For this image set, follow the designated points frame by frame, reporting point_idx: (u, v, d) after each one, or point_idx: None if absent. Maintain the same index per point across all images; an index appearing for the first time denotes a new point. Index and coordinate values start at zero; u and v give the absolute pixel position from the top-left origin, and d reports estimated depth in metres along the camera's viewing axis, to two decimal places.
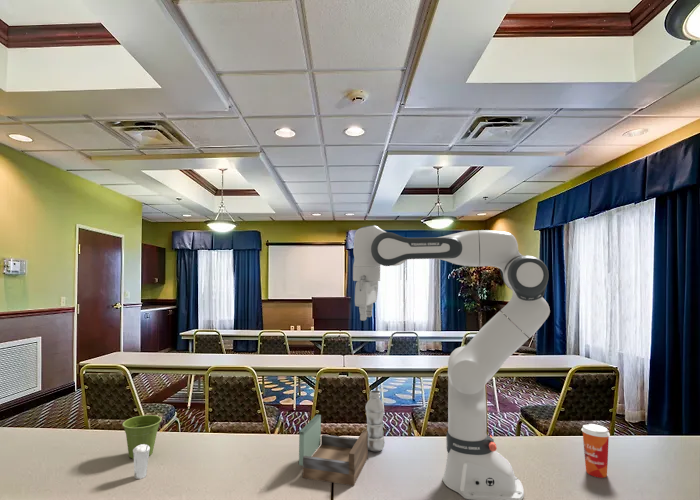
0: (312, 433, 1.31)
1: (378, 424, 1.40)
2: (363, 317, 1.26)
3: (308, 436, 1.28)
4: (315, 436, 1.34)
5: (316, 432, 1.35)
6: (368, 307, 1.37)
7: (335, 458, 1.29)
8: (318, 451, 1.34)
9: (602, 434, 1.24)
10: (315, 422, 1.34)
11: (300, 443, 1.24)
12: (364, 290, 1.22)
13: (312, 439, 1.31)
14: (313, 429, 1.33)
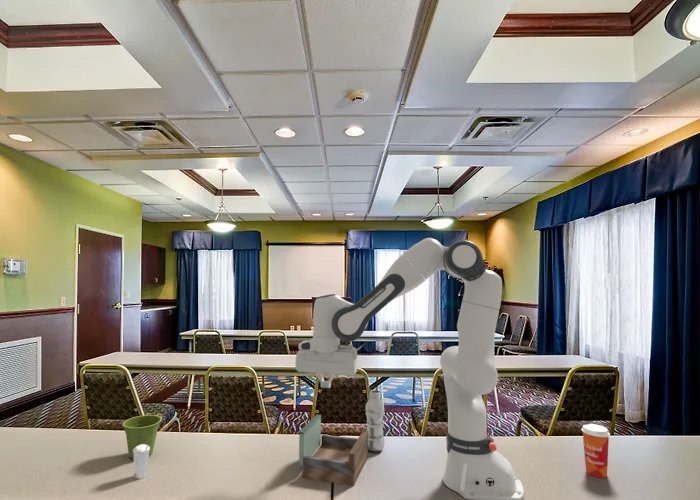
0: (312, 433, 1.31)
1: (378, 424, 1.40)
2: (330, 384, 1.31)
3: (308, 436, 1.28)
4: (315, 436, 1.34)
5: (316, 432, 1.35)
6: (321, 377, 1.32)
7: (335, 458, 1.29)
8: (318, 451, 1.34)
9: (603, 434, 1.24)
10: (315, 422, 1.34)
11: (300, 443, 1.24)
12: None
13: (312, 439, 1.31)
14: (313, 429, 1.33)
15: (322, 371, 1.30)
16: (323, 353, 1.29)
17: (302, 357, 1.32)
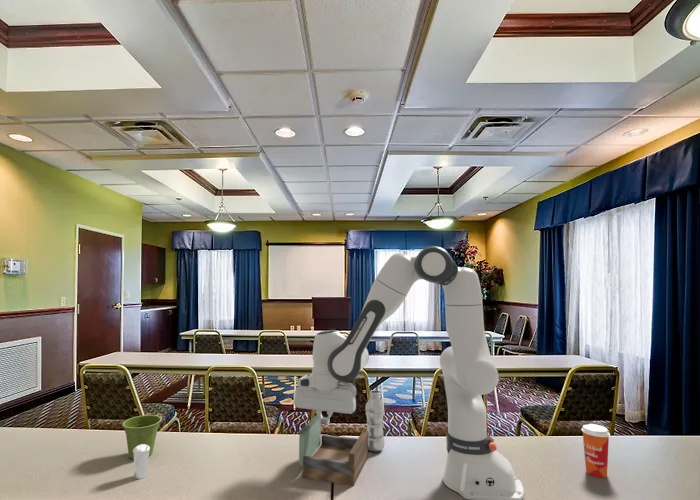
0: (312, 433, 1.31)
1: (378, 424, 1.40)
2: (328, 421, 1.31)
3: (308, 436, 1.28)
4: (315, 436, 1.34)
5: (316, 432, 1.35)
6: (319, 414, 1.31)
7: (335, 458, 1.29)
8: (318, 451, 1.34)
9: (603, 434, 1.24)
10: (315, 422, 1.34)
11: (300, 443, 1.24)
12: (354, 396, 1.30)
13: (312, 439, 1.31)
14: (313, 429, 1.33)
15: (321, 408, 1.29)
16: (322, 390, 1.28)
17: (301, 393, 1.31)
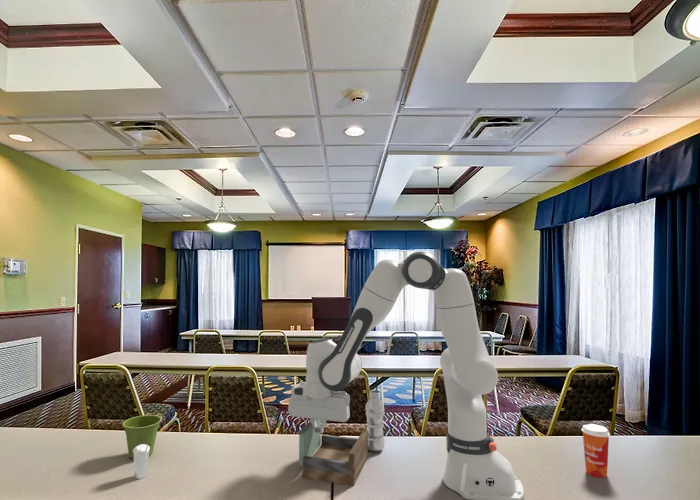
0: (312, 433, 1.31)
1: (378, 424, 1.40)
2: (322, 429, 1.31)
3: (308, 436, 1.28)
4: (315, 436, 1.34)
5: None
6: (314, 422, 1.31)
7: (335, 458, 1.29)
8: (318, 451, 1.34)
9: (603, 434, 1.24)
10: None
11: (300, 443, 1.24)
12: (348, 404, 1.30)
13: (312, 439, 1.31)
14: (313, 429, 1.33)
15: (315, 416, 1.30)
16: (316, 399, 1.29)
17: (295, 402, 1.32)
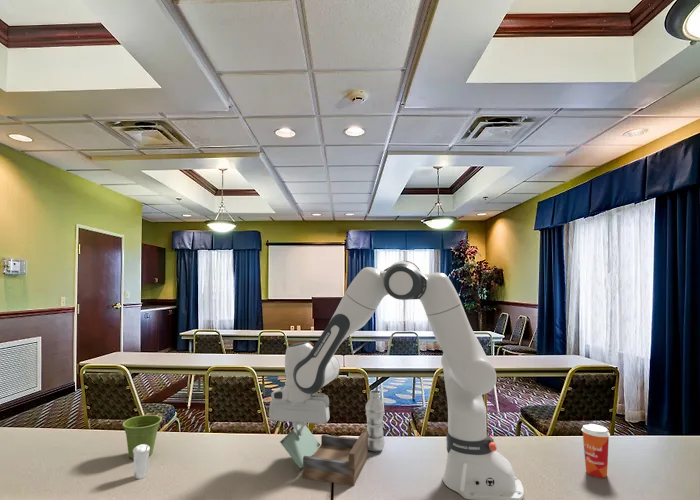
0: (298, 437, 1.33)
1: (378, 424, 1.40)
2: (302, 432, 1.33)
3: (293, 441, 1.29)
4: (306, 439, 1.35)
5: (305, 435, 1.36)
6: (296, 425, 1.33)
7: (335, 458, 1.29)
8: (318, 451, 1.34)
9: (603, 434, 1.24)
10: None
11: (287, 450, 1.25)
12: None
13: (302, 442, 1.32)
14: None
15: (295, 420, 1.32)
16: (295, 402, 1.30)
17: (275, 406, 1.34)
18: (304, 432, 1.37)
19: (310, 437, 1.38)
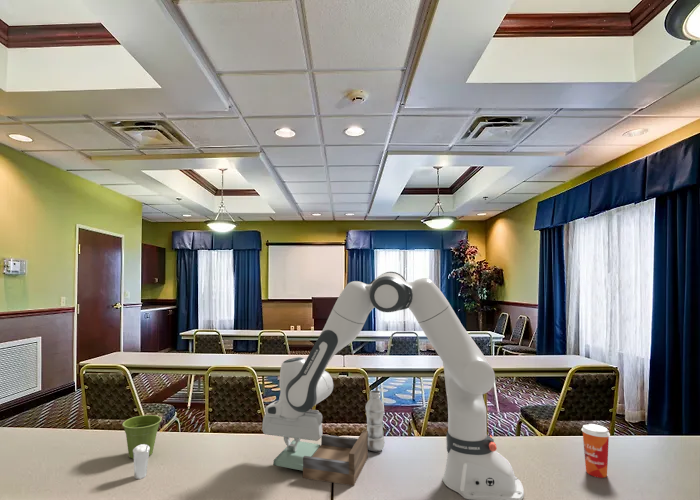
0: (292, 451, 1.33)
1: (378, 424, 1.40)
2: (296, 447, 1.33)
3: (287, 456, 1.30)
4: (301, 448, 1.35)
5: (300, 447, 1.36)
6: (287, 440, 1.34)
7: (335, 458, 1.29)
8: (318, 451, 1.34)
9: (603, 434, 1.24)
10: None
11: (283, 465, 1.26)
12: None
13: (298, 452, 1.32)
14: None
15: (288, 435, 1.32)
16: (289, 418, 1.31)
17: (269, 420, 1.34)
18: (298, 445, 1.37)
19: (306, 445, 1.38)
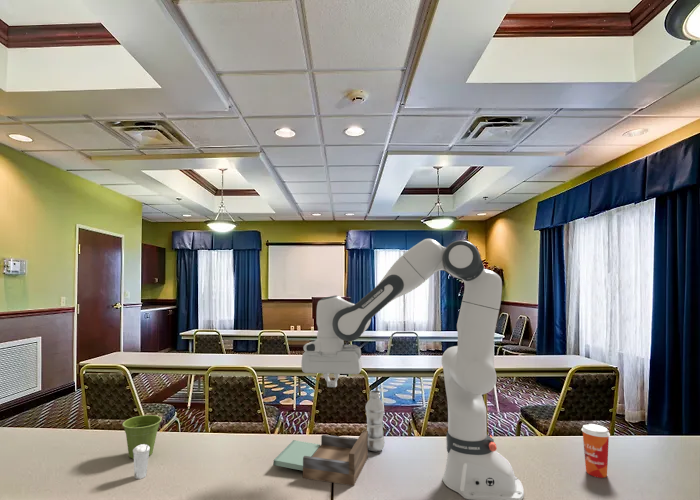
0: (292, 451, 1.33)
1: (378, 424, 1.40)
2: (336, 383, 1.35)
3: (287, 456, 1.30)
4: (301, 448, 1.35)
5: (300, 447, 1.36)
6: (327, 377, 1.35)
7: (335, 458, 1.29)
8: (318, 451, 1.34)
9: (603, 434, 1.24)
10: (289, 446, 1.36)
11: (283, 465, 1.26)
12: (359, 357, 1.34)
13: (298, 452, 1.32)
14: (291, 449, 1.34)
15: (328, 371, 1.33)
16: (328, 353, 1.32)
17: (307, 358, 1.35)
18: (298, 445, 1.37)
19: (306, 445, 1.38)
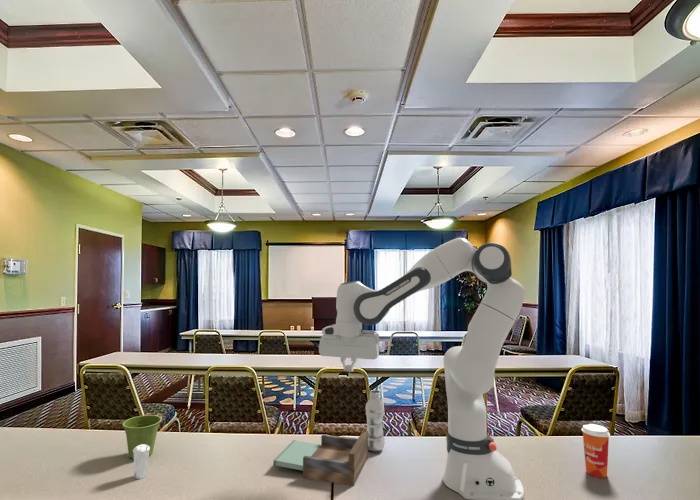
0: (292, 451, 1.33)
1: (378, 424, 1.40)
2: (352, 368, 1.36)
3: (287, 456, 1.30)
4: (301, 448, 1.35)
5: (300, 447, 1.36)
6: (344, 361, 1.36)
7: (335, 458, 1.29)
8: (318, 451, 1.34)
9: (603, 434, 1.24)
10: (289, 446, 1.36)
11: (283, 465, 1.26)
12: (377, 343, 1.35)
13: (298, 452, 1.32)
14: (291, 449, 1.34)
15: (345, 355, 1.34)
16: (346, 337, 1.33)
17: (325, 342, 1.36)
18: (298, 445, 1.37)
19: (306, 445, 1.38)
